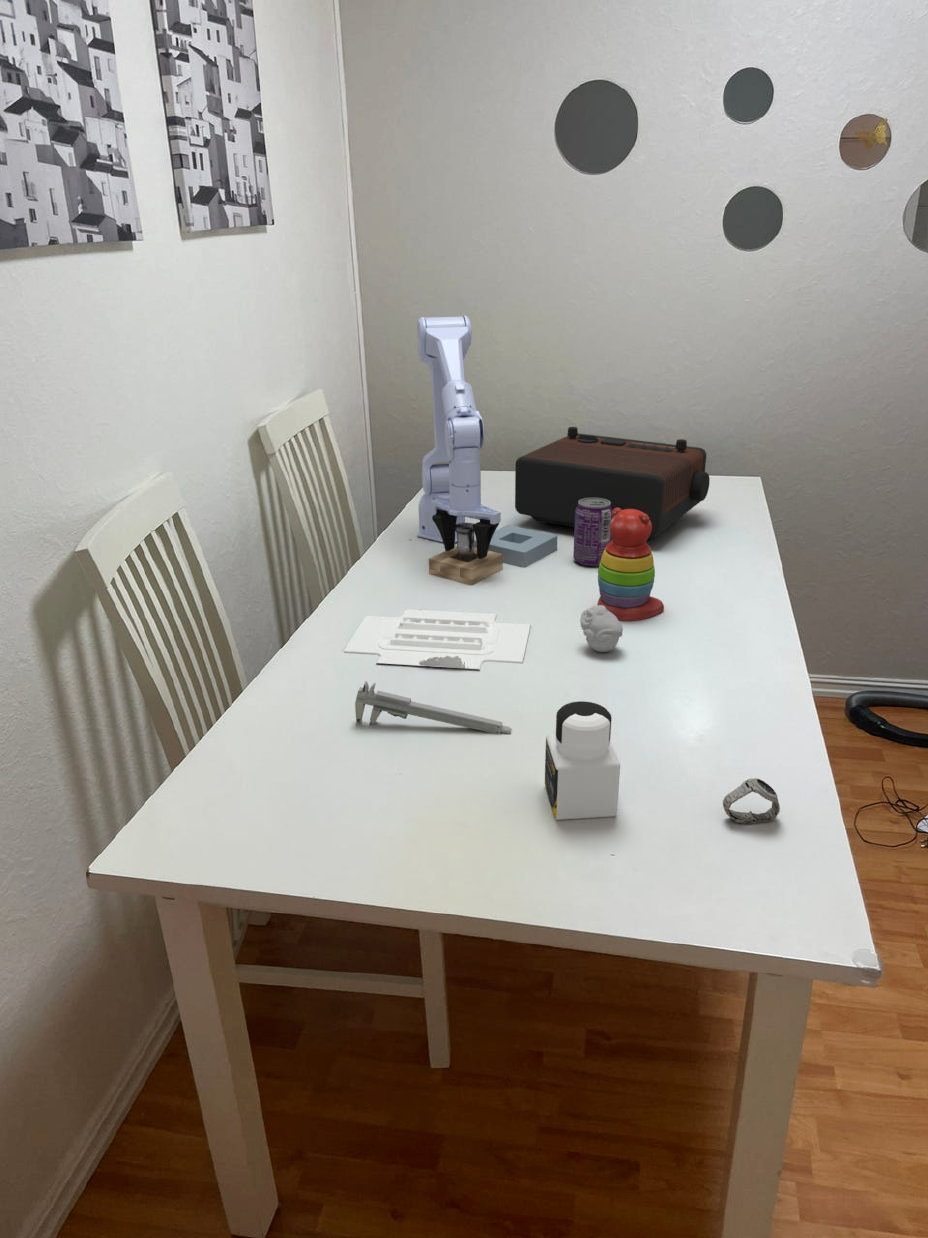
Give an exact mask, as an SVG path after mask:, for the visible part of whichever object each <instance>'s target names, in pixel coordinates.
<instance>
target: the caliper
mask: <svg viewBox="0 0 928 1238" xmlns="http://www.w3.org/2000/svg"><path fill="white" fill-rule="evenodd" d="M375 687H376V682H374V683H373V684H372V685H370V686H369V683H368V681H367V680H365V682H364V684H363V687H362V686H360V687H358V688H359V689H358V691H357V693H356V698H355V701H354V707H355V708H354V709H355V712H354V713H355V722H356V723H357V724H360V725H361V723H362V721H363V715H364V713H365V712H364V711H365V708H366V705H367V706H372V709H371V713H370V714H371V715H370V719H369V725H370V726H375V725H374V724H375V723H376V721H377V720H378V718H379V717H380V715H381V713H382V712H386V713H387V714H389V715H391V716H393V717H400V718H402V719H405V720H406V719H407V718H408V715H410V716H413V717H414V716H415V717H420V718H423V719H428V720H432V721H436V722H440V723H441V722H442V723H446V724H449V725H450V724H451V725H454V726H458V727H462V728H463V727H464V728H467V729H472V730H475V731H480V732H484V733H490V734H501V733H503V734H508V735H510V734H512V730H513V729H512V728H511V727H510V726H507V725H503V721H500V720H496V719H491V718H487V717H483V716H477V715H473V714H469V713H464V712H460V711H455V710H451V709H447V708H442V707H437V706H433V705H429V704H425V703H421V702H416V701H412V698H410V697H407V696H403V695H399V694H395V693H390V692H387V691H382V690H377V691H376V692H375Z"/></svg>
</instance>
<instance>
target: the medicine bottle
mask: <svg viewBox="0 0 928 1238" xmlns="http://www.w3.org/2000/svg"><path fill="white" fill-rule="evenodd" d="M555 719H556V720H555V733H547V734H546V737H545V755H544V756H545V757H544V759H545V760H544V761H545V762H544V763H545V765H544V787H545V790H546V793H547V797H548V800H549V803H550V806H551V807H550V808H551V811H552V814H553V817H554V818H553V819H554V820H557V821H563V820H564V821H565V820H577V819H578V820H580V819H595V818H596V819H597V818H610V817H617V815H618V804H619V790H620V776H621V775H620V774H621V762H620V761H619V758H618V755H617V753H616V751H615V749H614V747H613V744H612V742H611V734H612V733H611V732H612V731H611V730H612V720H613V719H612V714H611V712H610V711H608V709H607V708H605V707H604V706H603V705H600V704H598V703H596V702H592V701H585V700H584V701H583V700H582V701H581V700H580V701H572V702H568V703H566V704H564V705H563V706H561V707H560V708H559V709H558V710H557V712H556V718H555Z"/></svg>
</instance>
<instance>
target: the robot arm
mask: <svg viewBox="0 0 928 1238" xmlns="http://www.w3.org/2000/svg"><path fill="white" fill-rule="evenodd" d="M416 327H417V328H416V329H417V330H416V333H417V335H416V336H417V351H418V352H417V353H418V356H419V361H421V362H423V363H425V364H428V368H429V371H430V376H431V378H430V379H431V395H432V413H433V415H432V416H433V434H434V448H432V449H431V450H430V451H429V452H428V453H427V454H425V455H423V459H422V461H421V462H422V463H421V465H422V469H421V481H422V483H421V484H422V490H423V495H422V496H421V497H420V499H419V502H418V530H419V532H418V533H417V534H416V536H417V537H419V538H424V539H428V540H432V541H435V542H440V543H443V547H444V551H449V550H451V549H454V547H455V545H456V544H457V532H456V531H455V525H456V524H459V523H466V518H469V519H474V520H478V522H476V523H473V529H474V537H475V540H476V542H477V557H478V559H482V558H484V557H487V553H488V549H489V545H490V542H491V539H492V537H493V534H494V532H495V531H496V530H498V529H497V528H498V527H499V525H500V523H501V521H502V519H501V517H502V513H501V511H499V510H496V509H493V508H490V507H488V506H485V505H483V504H482V501H481V500H482V499H481V498H482V497H481V496H482V494H481V493H482V492H481V491H482V490H481V489H482V488H481V484H482V482H481V478H482V477H481V474H482V473H481V468H482V467H481V466H482V465H481V449H483V447H484V444H485V427H484V421H483V417H482V415H481V414H480V411H479V410H477V408H476V407H477V406H476V402H475V395H474V391H473V386H472V385H471V384H470V383H469V382H466V380H465V370H464V369H465V368H464V360H465V359H466V356H467V355H468V352H469V349H470V347H471V345H472V324H471V320H470V318H469V317H468V316H467V315H462V316H447V317H446V316H443V317H441V316H440V317H439V316H437V317H425V316H421V317H420V318H419V319H418V320H417V324H416ZM436 463H437V464H436ZM439 463H441V464H439Z"/></svg>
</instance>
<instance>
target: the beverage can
mask: <svg viewBox="0 0 928 1238" xmlns="http://www.w3.org/2000/svg"><path fill="white" fill-rule="evenodd" d="M610 505H611V502H610V501H609V500H607V499H603V498H584V499H581V500H579V501H578V506H577V508H576V510H575V527H574V532H573V533H574V534H573V536H574V537H573V553H572V554H573V560H574V561H575V562H577V563H579V564H580V565H583V566H586V567H599V564H600V562H601V558H602V555H603V552H604V550H605V548H606V546H607V544H608V543H609V542H610V541H612V537H611V534H610V523H611V520H612V518H613V516H612V508H611V506H610Z"/></svg>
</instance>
